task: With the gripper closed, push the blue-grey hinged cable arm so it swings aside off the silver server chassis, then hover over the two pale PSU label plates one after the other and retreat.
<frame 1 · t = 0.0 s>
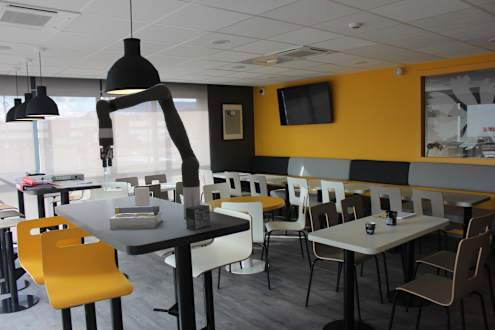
hand: (107, 167, 215), 29 cm above the table, fingers open, 8 cm apart
small box: (198, 228, 192), on the table
chassis: (137, 224, 205), on the table
cup: (143, 215, 230), on the table
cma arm: (137, 209, 204), point 7 cm above the table, hinge at 0.0°
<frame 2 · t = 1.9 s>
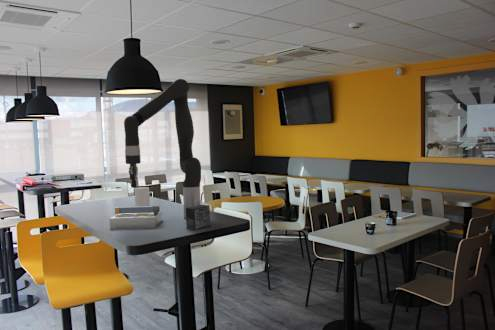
hand: (134, 187, 208), 19 cm above the table, fingers closed
nothing on the table moved.
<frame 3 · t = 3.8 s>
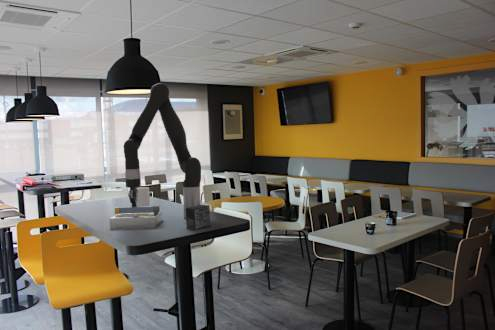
hand: (134, 210, 207), 7 cm above the table, fingers closed
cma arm: (137, 209, 204), point 8 cm above the table, hinge at 0.5°, touching gripper
everything else where it was.
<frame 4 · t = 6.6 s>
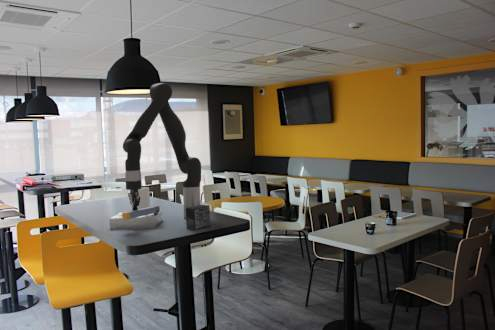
hand: (135, 214, 197), 7 cm above the table, fingers closed
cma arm: (142, 212, 196), point 8 cm above the table, hinge at 57.1°, touching gripper
everything else where it was.
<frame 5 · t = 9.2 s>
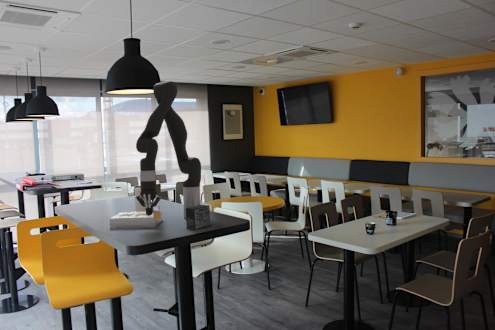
hand: (149, 215, 192), 7 cm above the table, fingers closed
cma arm: (156, 212, 195), point 8 cm above the table, hinge at 103.1°, touching gripper
everything else where it was.
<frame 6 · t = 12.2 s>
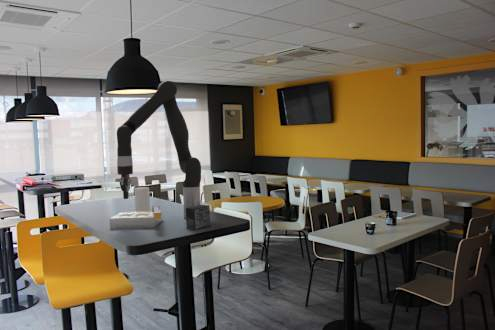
hand: (126, 198, 203), 13 cm above the table, fingers closed
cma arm: (156, 212, 195), point 8 cm above the table, hinge at 103.7°
everything else where it was.
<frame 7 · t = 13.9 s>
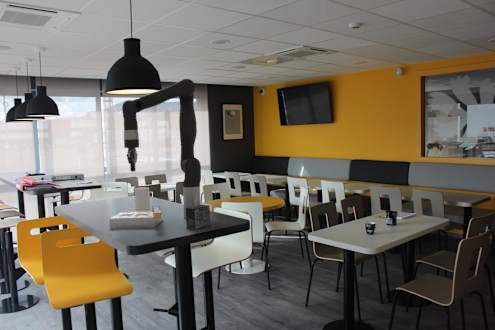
hand: (133, 171, 211), 27 cm above the table, fingers closed
nothing on the table moved.
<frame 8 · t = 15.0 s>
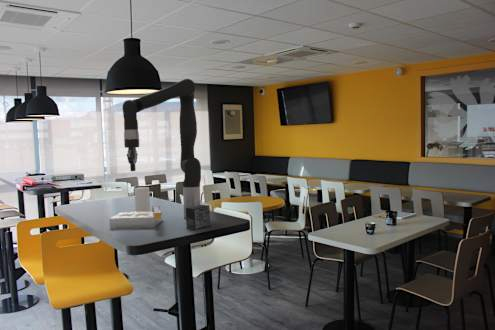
hand: (133, 171, 211), 27 cm above the table, fingers closed
nothing on the table moved.
at the end: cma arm at +104° (first picture: +0°); the gripper is holding nothing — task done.
